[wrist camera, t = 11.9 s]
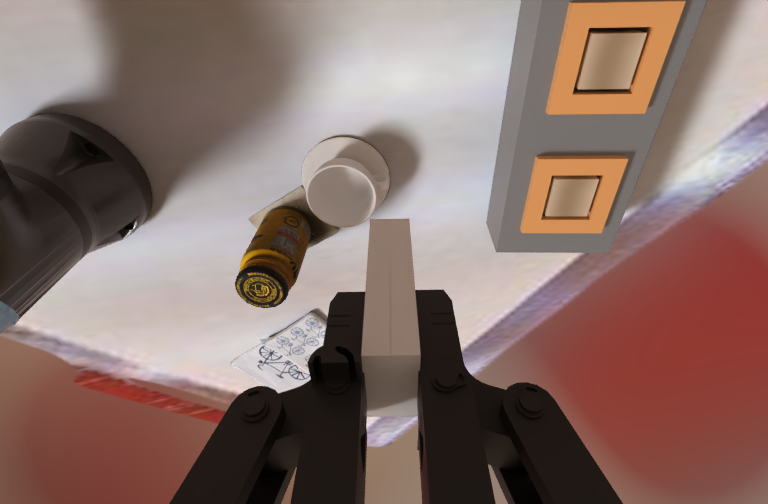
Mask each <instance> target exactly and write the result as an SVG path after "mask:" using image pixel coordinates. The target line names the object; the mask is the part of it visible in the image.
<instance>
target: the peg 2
mask: <svg viewBox="0 0 768 504" xmlns="http://www.w3.org/2000/svg"><path fill="white" fill-rule="evenodd" d="M646 35H647V33H645V32H642V31H638V30H635V29H631V28H628V27H617V28H589V30H588V34H587V38H586V42H585V46H584V50H583V54H582V58H581V62H580V66H579V70H578V74H577V78H576V82H575V86H574V87H576V88H577V89H629V87H630V84H631V81H632V78H633V75H634V72H635V69H636V66H637V63H638V60H639V56H640V53H641V50H642V47H643V44H644V41H645V38H646Z"/></svg>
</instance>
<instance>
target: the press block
mask: <svg viewBox="0 0 768 504" xmlns="http://www.w3.org/2000/svg"><path fill="white" fill-rule="evenodd" d="M706 2H707V0H521V6H520V12H519V18H518V25H517V31H516V37H515V44H514V50H513V57H512V63H511V69H510V76H509V82H508V88H507V95H506V101H505V108H504V114H503V120H502V127H501V133H500V140H499V146H498V152H497V159H496V165H495V171H494V178H493V184H492V191H491V197H490V203H489V210H488V216H487V222H486V223H487V226H488V229H489V232H490V235H491V238H492V241H493V244H494V247H495V250H496V252H572V253H609V251H610V248H611V246H612V243H613V241H614V238H615V236H616V233H617V231H618V228H619V225H620V223H621V220H622V218H623V215H624V213H625V210H626V207H627V205H628V202H629V200H630V197H631V195H632V192H633V190H634V187H635V184H636V182H637V179H638V177H639V174H640V172H641V169H642V166H643V164H644V161H645V159H646V156H647V154H648V151H649V148H650V146H651V143H652V141H653V138H654V136H655V133H656V131H657V128H658V125H659V123H660V120H661V118H662V115H663V113H664V110H665V107H666V105H667V102H668V100H669V97H670V95H671V92H672V90H673V87H674V84H675V82H676V79H677V77H678V74H679V72H680V69H681V66H682V64H683V61H684V59H685V56H686V54H687V51H688V49H689V46H690V43H691V41H692V38H693V36H694V33H695V31H696V28H697V25H698V23H699V20H700V18H701V15H702V13H703V10H704V8H705V5H706ZM617 27H628V28H631V29H635V30H638V31H642V32H645V33H647V35H646V38H645V41H644V44H643V47H642V50H641V53H640V56H639V60H638V63H637V66H636V69H635V72H634V75H633V78H632V81H631V84H630V87H629V89H577V88H576V87H574V86H575V82H576V78H577V74H578V70H579V66H580V62H581V58H582V54H583V50H584V46H585V42H586V38H587V34H588V30H589V28H617ZM568 175H596V176H597V178H598V179H599V181H598V184H597V188H596V191H595V194H594V197H593V200H592V203H591V206H590V209H589V212H588V215H587V216H545V214H544V212H543V210H544V206H545V202H546V198H547V194H548V190H549V186H550V182H551V178H552V176H568Z"/></svg>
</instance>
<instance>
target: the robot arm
mask: <svg viewBox="0 0 768 504" xmlns="http://www.w3.org/2000/svg"><path fill="white" fill-rule="evenodd" d="M151 207H152V192H151V187H150V184H149V181H148V178H147V176H146V174H145V172H144V170H143V169H142V167H141V165H140V164H139V162H138V161H137V160H136V158H135V157H134V156H133V155H132V153H131V152H130V151H129V150H128V149H127V148H126V147H125V146H124V145H123V144H122V143H120V142H119V141H118V140H117V139H116V138H114V137H113V136H112V135H110V134H109V133H107V132H106V131H104V130H103V129H101V128H99V127H97V126H96V125H94V124H92V123H89V122H87V121H85V120H82V119H79V118H76V117H73V116H69V115H64V114H53V113H49V114H40V115H36V116H33V117H30V118H28V119H26V120H23V121H21V122H19V123H16V124H14V125H13V126H11V127H10V128H8V129H7V130H6V131H5V132H4V133H3V134H2V135H1V137H0V334H1V333H2V332H3V331H4V330H5V329H7V328H8V327H11V326H13V325H15V324H16V322H17V321H19V319H20V318H21V317H22V316H23V315H24V314H25V313H26V312H27V311H28V310H29V309H30V308H31V307H32V306H33V305H34V304H35V303H36V302H37V301H38V300H39V299H40V298H41V297H42V296H43V295H44V294H45V293H47V292H48V291H49V290H50V289H51V288H52V287H53V286H54V285H55V284H56V283H57V282H58V281H59V280H60V279H61V278H62V277H63V276H64V275H65V274H66V273H67V272H68V271H69V270H70V269H71V268H72V267H73V266H74V265H75V264H76V263H77V262H78V261H79V260H81V259H82V258H83V257H84V256H85V255H86V254H87V253H90V252H92V251H95V250H97V249H100V248H102V247H105V246H107V245H110V244H112V243H115V242H117V241H120V240H122V239H124V238H126V237H128V236H129V235H131V234H132V233H133V232H135V231H136V230H137V229H138V228H139V227H140V226H141V225H142V224H143V222H144V221H145V220H146V219H147V217H148V215H149V213H150V211H151ZM307 364H308V368H309V373H310V378H311V379H310V380H309V381H308V382H306V383H305V384H303V385H301V386H299V387H297V388H294V389H291V390H287V391H284V392H281V393H277V391H276V390H274V389H272V388H270V387H268V386H257V387H254V388H250V389H247V390H246V391H244V392H243V393H241V394H240V395H238V396H237V398H236V399H235V400H234V401H233V402H232V403H231V405H230V407H229V408H228V410H227V412H226V413H225V415H224V416H223V418H222V420H221V421H220V423H219V424H218V426H217V428H216V429H215V431H214V433H213V434H212V436H211V438H210V439H209V441H208V442H207V444H206V446H205V447H204V449H203V450H202V452H201V454H200V455H199V457H198V458H197V460H196V462H195V463H194V465H193V467H192V468H191V470H190V472H189V473H188V475H187V476H186V478H185V480H184V481H183V483H182V484H181V486H180V488H179V489H178V491H177V492H176V494H175V496H174V497H173V499H172V501H171V502H170V504H281V502H282V500H283V497H284V495H285V492H286V490H287V488H288V485H289V483H290V480H291V478H292V475H293V473H294V471H295V468H296V467H297V470H296V475H295V481H294V487H293V492H292V498H291V504H364V501H365V500H364V499H365V475H366V474H365V473H366V451H367V449H366V448H367V430H366V419H367V417H380V416H418V424H419V428H418V450H419V458H420V474H421V490H422V504H495V499H494V494H493V489H492V483H491V478H490V473H489V469H488V464H489V465H491V466H492V468H493V471H494V473H495V475H496V478H497V480H498V482H499V484H500V487H501V489H502V491H503V493H504V496H505V498H506V500H507V502H508V504H623V503H622V501H621V500H620V499H619V497H618V496H617V494H616V493H615V491H614V489H613V488H612V486H611V485H610V483H609V482H608V480H607V479H606V477H605V476H604V474H603V473H602V471H601V470H600V468H599V466H598V465H597V463H596V462H595V460H594V459H593V457H592V456H591V454H590V453H589V451H588V450H587V448H586V447H585V445H584V444H583V442H582V441H581V439H580V438H579V436H578V435H577V433H576V432H575V430H574V428H573V427H572V425H571V424H570V422H569V421H568V419H567V418H566V416H565V415H564V413H563V412H562V410H561V409H560V407H559V406H558V404H557V403H556V401H555V400H554V399H553V398H552V396H551V395H550V394H549V393H548V392H547V391H546V390H544V389H542V388H541V387H539V386H537V385H534V384H530V383H516V384H513V385H511V386H509V387H508V388H507V390H504V389H501V388H497V387H494V386H489V385H487V384H485V383H482V382H480V381H479V380H477V379H475V378H474V377H473V376H472V375H471V374H470V373H469V372H468V370H467V369H466V367H465V365H464V362H463V358H462V352H461V347H460V342H459V337H458V331H457V326H456V321H455V316H454V310H453V305H452V300H451V299H450V298H449V296H448V295H447V294H446V293H445V291H444V290H415V282H414V270H413V259H412V247H411V235H410V223H409V219H370V231H369V246H368V261H367V276H366V291H365V292H338V293H337V294H336V296H335V297H334V298H333V300H332V301H331V303H330V307H329V313H328V319H327V325H326V331H325V337H324V343H323V346H321V347H319V348H317V349H316V350H315V351H314V352H313V353H312V354H311V356H310V358H309V360H308V363H307Z"/></svg>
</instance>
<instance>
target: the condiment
mask: <svg viewBox="0 0 768 504" xmlns="http://www.w3.org/2000/svg"><path fill="white" fill-rule="evenodd" d="M296 207H298V208H296ZM299 207H302V208H299ZM248 220H249V221H251V223H252V224H253V225H254V226H255V227H256V228H257V229H258V230H257V232H256V234H255V236H254V238H253V239H252V241H251V243H250V245H249V247H248V249H247V250H246V253H245V254H244V256H243V259H242V261H241V267H240V271H239V274H238V276H237V278H236V282H235V287H236V290H237V292H238V294H239V295H240V297H241V298H242V299H243V300H245V301H246V302H247V303H249V304H251V305H253V306H256V307H261V308H270V307H276V306H278V305H279V304H281V303H282V302H283V301H284V300H285V299H286V297H287V295H288V291H289V290H290V289H291V287H292V286H293V285H294V284H295V282H296V280H297V277H298V274H299V271H300V268H301V265H302V262H303V259H304V256H305V253H306V250H307V249H308V248H309V247H311V246H313V245H316V244H318V243H319V242H321V241H323V240H324V239H326V238H328V237H330V236H333V235H334V234H336V233H338V230H337V229H336V228H335V226H332V225H329V224H327V223H325V222H323V221H322V220H320V219H319V218H318V217H317V216H316V215H315V214H314V213H313V212H312V210H311V209H310V207H309V205H308V202H307V198H306V191H305V190H304V189H303V187H302V186H301V187H299V188H297V189H296V190H294V191H292V192H291V193H289V194H288V195H286V196H285V197H283V198H281V199H280V200H278V201H276V202H275V203H273V204H271V205H270V206H268V207H266V208H265V209H263V210H262V211H260V212H258V213H257V214H255V215H253V216H252V217H250V218H249V219H248ZM313 234H314V235H313Z"/></svg>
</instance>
